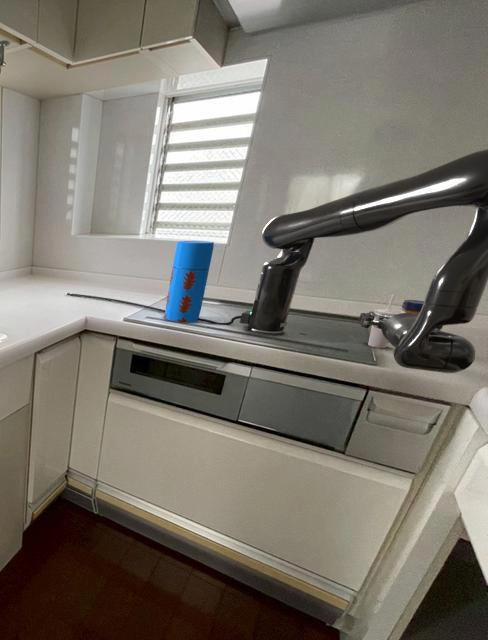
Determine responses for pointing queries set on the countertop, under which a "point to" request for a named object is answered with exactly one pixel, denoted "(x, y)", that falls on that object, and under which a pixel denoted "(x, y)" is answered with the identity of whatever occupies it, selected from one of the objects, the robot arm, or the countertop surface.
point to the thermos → (188, 280)
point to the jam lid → (413, 305)
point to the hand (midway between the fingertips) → (391, 317)
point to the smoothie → (376, 334)
